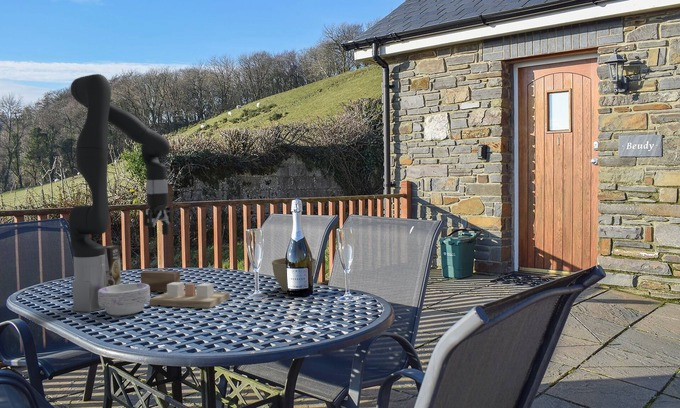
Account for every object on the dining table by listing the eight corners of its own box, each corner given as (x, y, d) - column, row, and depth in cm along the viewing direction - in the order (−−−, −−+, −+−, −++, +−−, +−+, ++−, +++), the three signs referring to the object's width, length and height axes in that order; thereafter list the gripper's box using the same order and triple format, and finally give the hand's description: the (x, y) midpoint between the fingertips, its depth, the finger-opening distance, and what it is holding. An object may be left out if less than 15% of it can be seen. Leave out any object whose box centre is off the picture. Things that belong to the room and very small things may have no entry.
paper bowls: (92, 312, 175) (91, 287, 174) (140, 304, 184) (139, 280, 184) (107, 321, 163) (106, 294, 163) (158, 312, 173) (157, 287, 172)
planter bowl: (293, 283, 215) (293, 255, 214) (325, 288, 205) (325, 259, 204) (263, 290, 202) (262, 261, 202) (295, 296, 192) (294, 265, 192)
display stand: (210, 308, 177) (209, 289, 177) (149, 305, 183) (148, 286, 183) (229, 298, 191) (229, 281, 190) (173, 295, 196) (172, 279, 196)
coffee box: (111, 291, 207) (110, 248, 206) (94, 291, 207) (92, 248, 206) (121, 286, 216) (120, 244, 215) (105, 286, 216) (103, 245, 215)
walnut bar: (174, 292, 203) (174, 273, 203) (141, 291, 207) (140, 272, 206) (180, 290, 207) (180, 271, 206) (147, 289, 210) (147, 270, 210)
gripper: (159, 191, 213) (160, 233, 213) (136, 193, 199) (138, 238, 200) (176, 191, 211) (178, 234, 212) (155, 193, 197) (156, 238, 198)
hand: (158, 236), depth 206 cm, fingers open, 8 cm apart
